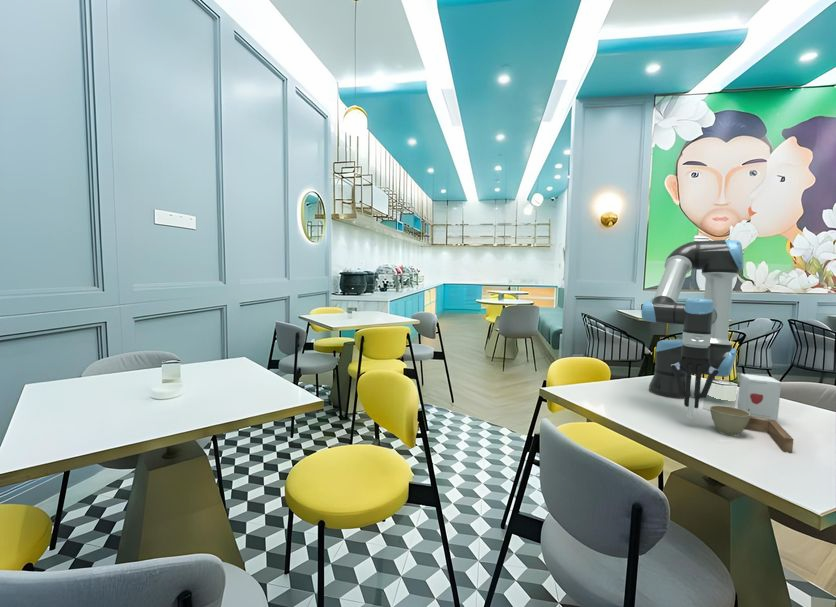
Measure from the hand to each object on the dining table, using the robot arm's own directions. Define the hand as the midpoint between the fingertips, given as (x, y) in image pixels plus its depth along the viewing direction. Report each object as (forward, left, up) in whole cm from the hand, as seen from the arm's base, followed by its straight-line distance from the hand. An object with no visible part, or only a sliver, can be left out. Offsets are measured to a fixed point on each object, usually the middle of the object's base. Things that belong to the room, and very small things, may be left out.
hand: (690, 416), depth 128 cm
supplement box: (+21, +22, -3) cm, 31 cm away
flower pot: (+10, 0, -3) cm, 11 cm away
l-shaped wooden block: (+17, 0, -3) cm, 17 cm away
